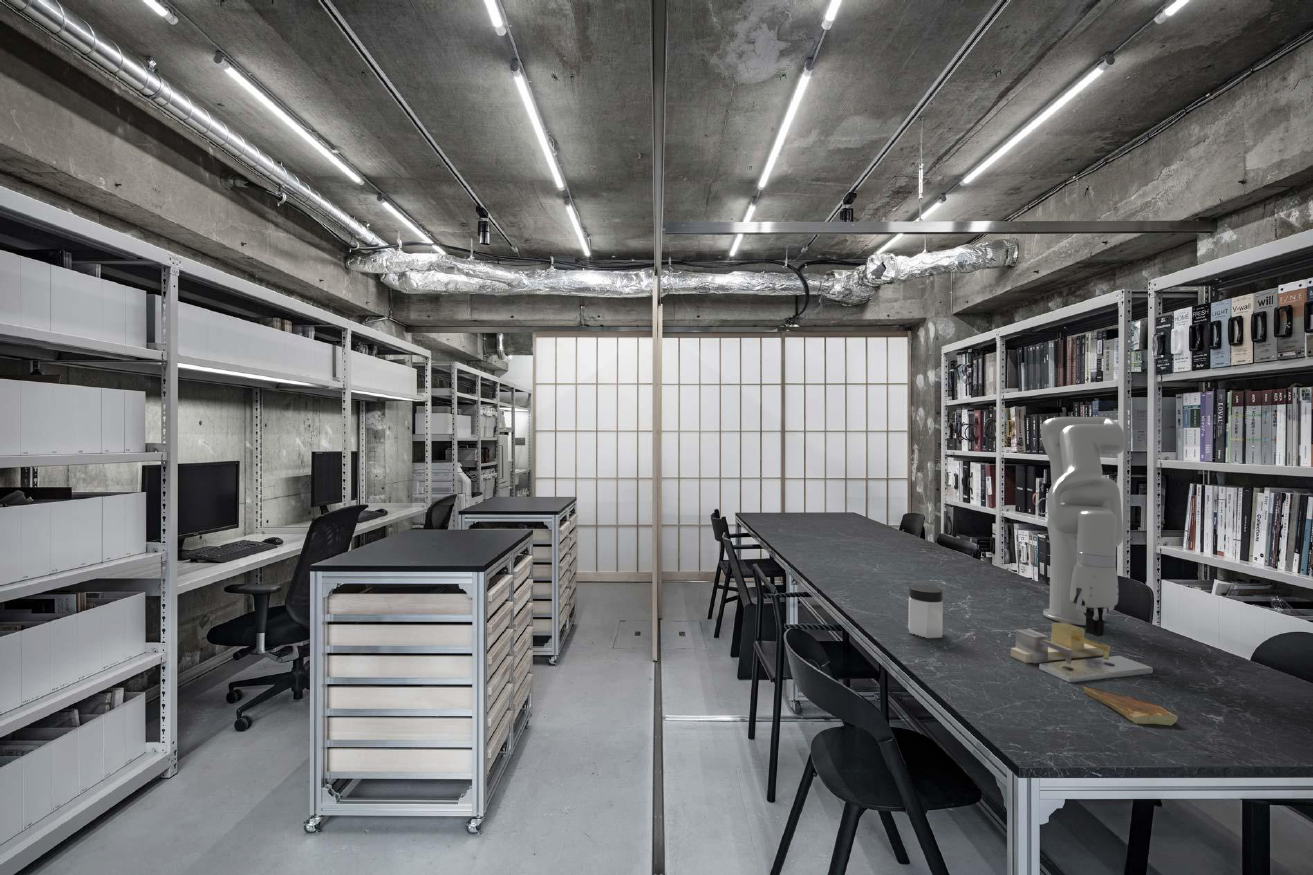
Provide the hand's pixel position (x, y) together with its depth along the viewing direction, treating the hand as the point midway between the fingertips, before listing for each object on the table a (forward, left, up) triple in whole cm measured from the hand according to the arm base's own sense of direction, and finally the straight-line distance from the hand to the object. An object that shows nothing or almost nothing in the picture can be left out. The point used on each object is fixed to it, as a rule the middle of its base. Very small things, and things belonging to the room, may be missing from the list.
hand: (1094, 634), depth 137 cm
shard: (+26, +25, -5) cm, 36 cm away
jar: (+33, -20, -5) cm, 39 cm away
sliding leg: (+9, +4, -2) cm, 10 cm away
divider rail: (+12, +4, -4) cm, 13 cm away
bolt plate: (+12, +9, -4) cm, 16 cm away
